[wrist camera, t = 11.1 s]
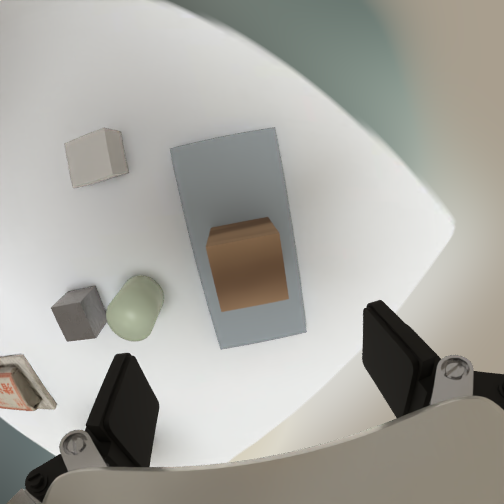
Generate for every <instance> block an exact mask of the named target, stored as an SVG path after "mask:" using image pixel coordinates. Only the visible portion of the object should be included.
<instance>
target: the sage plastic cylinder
mask: <svg viewBox="0 0 504 504" xmlns="http://www.w3.org/2000/svg"><path fill="white" fill-rule="evenodd" d="M163 302H164V295H163V291H162V289H161V287H160V286H159V284H158V283H157V282H156V281H154V280H153V279H151V278H149V277H147V276H134V277H132V278H130V279H129V280H128V281H127V282H126V283H125V284H124V286H123V287H122V288H121V290H120V291H119V292H118V293H117V295H116V296H115V297H114V299H113V300H112V301H111V303H110V304H109V306H108V308H107V311H106V318H107V322H108V324H109V326H110V328H111V329H112V331H113V332H114V333H115V334H117V335H118V336H119V337H121V338H123V339H125V340H128V341H141V340H143V339H145V338H147V337H148V336H149V335H150V333H151V331H152V329H153V327H154V324H155V322H156V319H157V317H158V314H159V312H160V310H161V307H162V305H163Z"/></svg>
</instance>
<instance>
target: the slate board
mask: <svg viewBox="0 0 504 504" xmlns="http://www.w3.org/2000/svg"><path fill="white" fill-rule="evenodd" d="M170 152H171V157H172V162H173V167H174V171H175V176H176V181H177V185H178V190H179V194H180V199H181V203H182V207H183V212H184V216H185V220H186V224H187V229H188V233H189V237H190V241H191V245H192V249H193V253H194V257H195V260H196V264H197V268H198V272H199V276H200V279H201V283H202V287H203V290H204V294H205V297H206V301H207V305H208V308H209V312H210V315H211V319H212V322H213V325H214V329H215V332H216V335H217V339H218V342H219V345H220V349H227V348H233V347H238V346H244V345H249V344H254V343H259V342H264V341H269V340H274V339H279V338H283V337H288V336H292V335H297V334H301V333H305V332H307V331H306V322H305V314H304V306H303V298H302V290H301V283H300V275H299V268H298V261H297V254H296V247H295V241H294V234H293V227H292V221H291V215H290V209H289V203H288V197H287V191H286V185H285V179H284V173H283V168H282V162H281V157H280V151H279V146H278V141H277V135H276V130H275V127H274V128H267V129H261V130H255V131H249V132H244V133H238V134H233V135H228V136H223V137H218V138H213V139H208V140H204V141H199V142H195V143H191V144H187V145H182V146H178V147H174V148H171V149H170ZM264 217H268V218H269V219H270V220H271V222H272V223H273V225H274V226H275V228H276V229H277V230H278V232H279V234H280V241H281V247H282V254H283V260H284V267H285V274H286V281H287V288H288V295H289V299H287V300H283V301H278V302H273V303H268V304H263V305H257V306H252V307H247V308H242V309H236V310H231V311H225V312H221V308H220V305H219V301H218V297H217V293H216V288H215V284H214V280H213V276H212V272H211V268H210V264H209V259H208V255H207V251H206V244H207V240H208V237H209V233H210V229H211V228H212V227H217V226H222V225H227V224H232V223H238V222H243V221H248V220H253V219H259V218H264Z"/></svg>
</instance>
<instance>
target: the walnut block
mask: <svg viewBox="0 0 504 504" xmlns="http://www.w3.org/2000/svg"><path fill="white" fill-rule="evenodd" d="M206 251H207V255H208V259H209V264H210V268H211V272H212V276H213V280H214V284H215V288H216V293H217V297H218V301H219V305H220V308H221V312H225V311H231V310H236V309H242V308H247V307H252V306H257V305H263V304H268V303H273V302H278V301H283V300H287V299H289V295H288V288H287V281H286V274H285V267H284V260H283V254H282V247H281V241H280V234H279V232H278V230H277V229H276V228H275V226H274V225H273V223H272V222H271V220H270V219H269V218H268V217H264V218H259V219H253V220H248V221H243V222H238V223H232V224H227V225H222V226H217V227H212V228H211V229H210V233H209V237H208V240H207V244H206Z"/></svg>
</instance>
